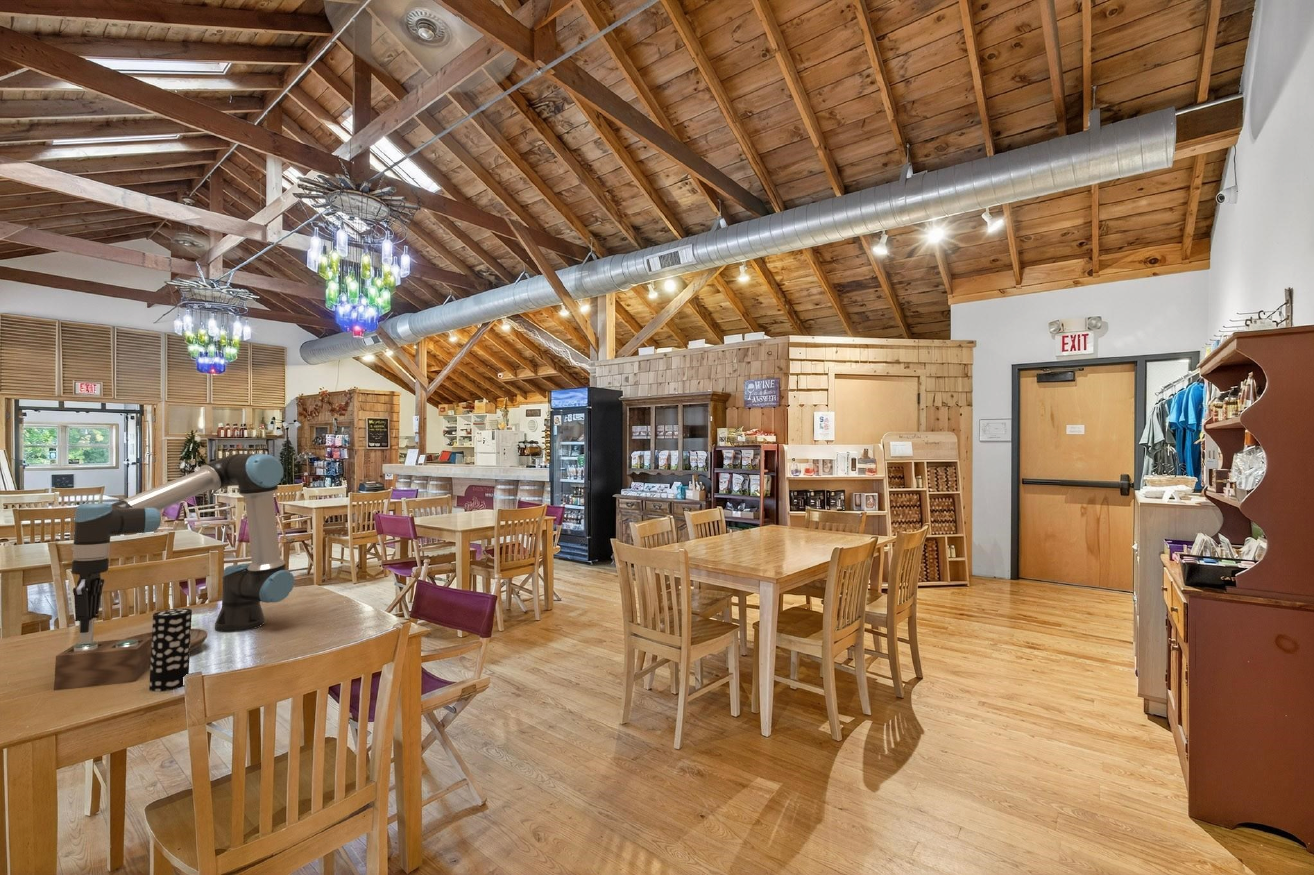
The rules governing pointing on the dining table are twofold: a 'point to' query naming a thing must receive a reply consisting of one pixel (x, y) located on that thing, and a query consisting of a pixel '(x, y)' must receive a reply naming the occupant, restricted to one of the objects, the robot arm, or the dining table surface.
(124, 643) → the peg
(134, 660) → the walnut block
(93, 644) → the peg
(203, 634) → the ceramic bowl
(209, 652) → the dining table surface
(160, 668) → the white-spotted black cylinder
